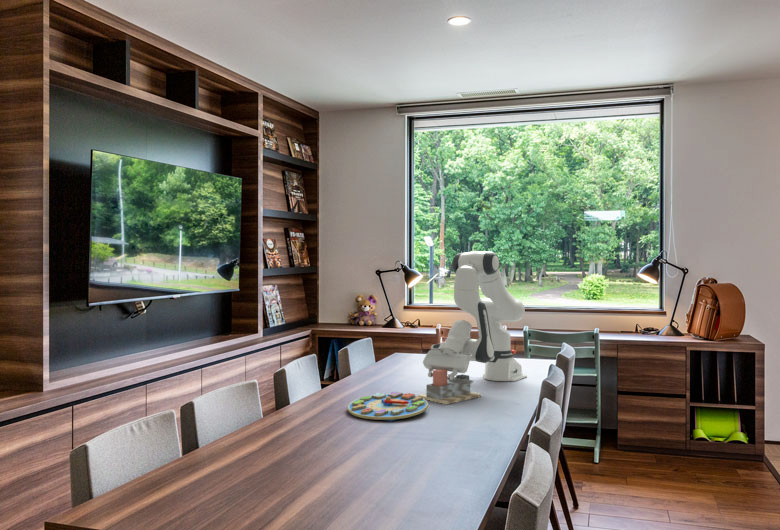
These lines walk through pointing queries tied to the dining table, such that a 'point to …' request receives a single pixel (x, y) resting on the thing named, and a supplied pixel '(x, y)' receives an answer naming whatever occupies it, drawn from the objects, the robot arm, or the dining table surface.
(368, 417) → the shape sorting clock
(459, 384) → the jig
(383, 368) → the dining table surface
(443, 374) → the salmon pink rectangular box
